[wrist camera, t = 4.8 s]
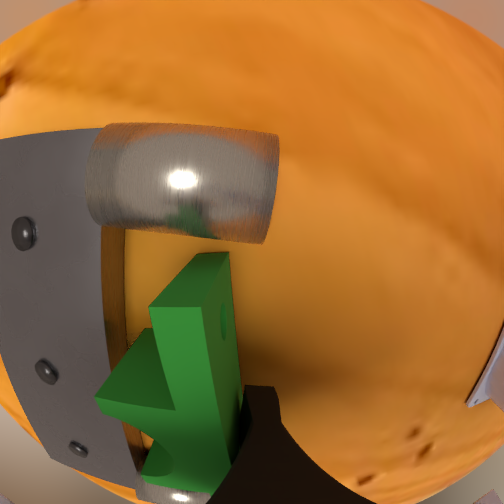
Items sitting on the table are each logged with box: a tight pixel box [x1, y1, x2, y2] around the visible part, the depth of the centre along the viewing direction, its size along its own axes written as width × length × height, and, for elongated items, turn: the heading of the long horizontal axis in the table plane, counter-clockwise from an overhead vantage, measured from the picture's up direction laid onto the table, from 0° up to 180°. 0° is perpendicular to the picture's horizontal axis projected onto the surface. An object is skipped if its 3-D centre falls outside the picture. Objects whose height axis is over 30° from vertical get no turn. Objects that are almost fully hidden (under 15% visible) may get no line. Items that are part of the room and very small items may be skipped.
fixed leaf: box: [0, 123, 279, 504], centre depth 9 cm, size 12×19×3 cm, turn 172°
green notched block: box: [94, 252, 243, 496], centre depth 9 cm, size 11×4×5 cm, turn 3°
